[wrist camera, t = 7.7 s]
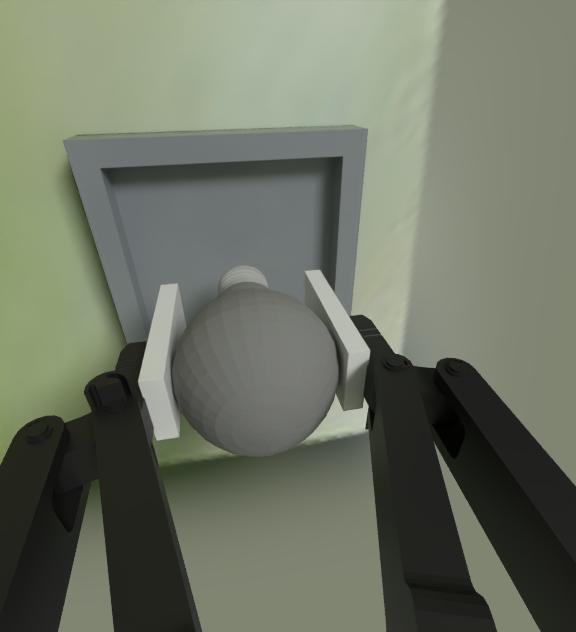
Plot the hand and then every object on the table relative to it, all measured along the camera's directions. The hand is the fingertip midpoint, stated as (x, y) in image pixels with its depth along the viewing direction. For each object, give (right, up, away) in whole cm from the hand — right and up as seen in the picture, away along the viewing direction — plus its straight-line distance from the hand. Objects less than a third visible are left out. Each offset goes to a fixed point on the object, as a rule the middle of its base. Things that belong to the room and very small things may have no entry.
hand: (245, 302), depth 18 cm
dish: (-1, +3, +5) cm, 6 cm away
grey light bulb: (0, +1, +2) cm, 2 cm away
